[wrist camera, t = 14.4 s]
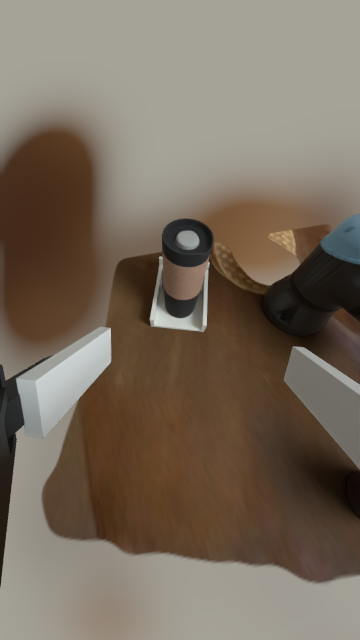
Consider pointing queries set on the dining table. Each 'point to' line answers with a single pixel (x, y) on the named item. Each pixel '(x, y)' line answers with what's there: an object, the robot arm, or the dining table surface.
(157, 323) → the white open box
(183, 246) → the travel mug
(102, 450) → the dining table surface
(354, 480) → the bottle
